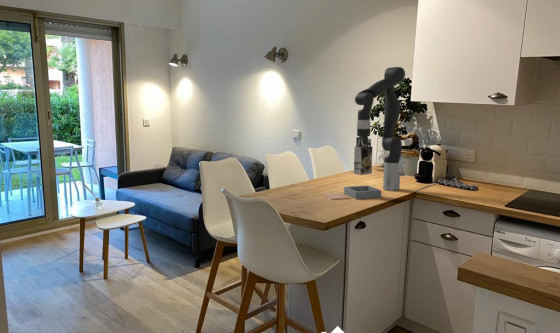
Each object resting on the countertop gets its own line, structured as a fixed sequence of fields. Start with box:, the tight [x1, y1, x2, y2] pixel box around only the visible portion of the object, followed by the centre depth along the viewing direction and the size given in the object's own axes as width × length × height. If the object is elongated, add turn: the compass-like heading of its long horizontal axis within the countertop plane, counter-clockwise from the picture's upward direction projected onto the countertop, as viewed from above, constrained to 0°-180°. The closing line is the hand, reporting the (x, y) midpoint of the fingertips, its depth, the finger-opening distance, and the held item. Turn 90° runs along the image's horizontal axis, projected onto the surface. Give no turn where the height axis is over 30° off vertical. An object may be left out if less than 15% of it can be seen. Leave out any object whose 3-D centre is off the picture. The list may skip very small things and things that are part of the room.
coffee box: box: [353, 145, 373, 176], centre depth 242 cm, size 9×6×16 cm
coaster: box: [322, 192, 352, 201], centre depth 241 cm, size 12×12×1 cm
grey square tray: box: [343, 185, 382, 200], centre depth 245 cm, size 16×16×4 cm
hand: (363, 155), depth 242 cm, fingers closed on coffee box, 8 cm apart
